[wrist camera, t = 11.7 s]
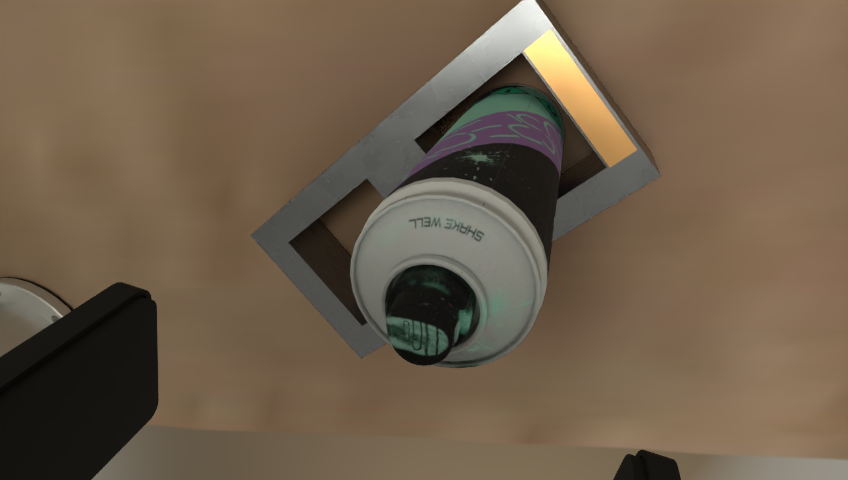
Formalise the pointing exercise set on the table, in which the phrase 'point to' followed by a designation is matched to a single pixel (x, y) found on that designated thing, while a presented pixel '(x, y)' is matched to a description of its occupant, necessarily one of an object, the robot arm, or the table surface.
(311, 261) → the grey rectangular grid frame
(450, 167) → the spray can
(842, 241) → the table surface
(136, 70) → the table surface
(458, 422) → the table surface
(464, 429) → the table surface
